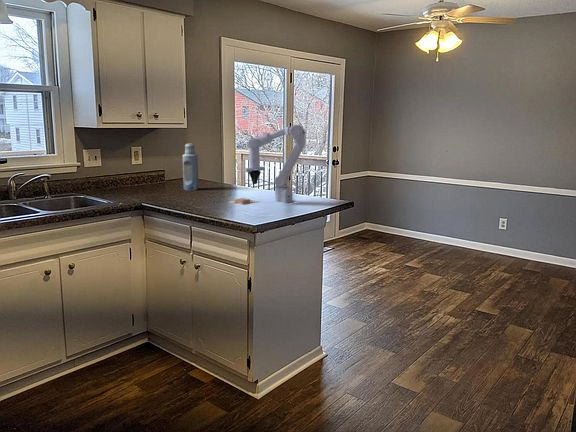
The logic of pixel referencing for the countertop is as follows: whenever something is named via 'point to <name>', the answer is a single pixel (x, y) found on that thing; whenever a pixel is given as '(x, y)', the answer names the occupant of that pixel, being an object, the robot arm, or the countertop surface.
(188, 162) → the bottle
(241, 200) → the tile
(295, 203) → the countertop surface
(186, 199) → the countertop surface
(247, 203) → the board
